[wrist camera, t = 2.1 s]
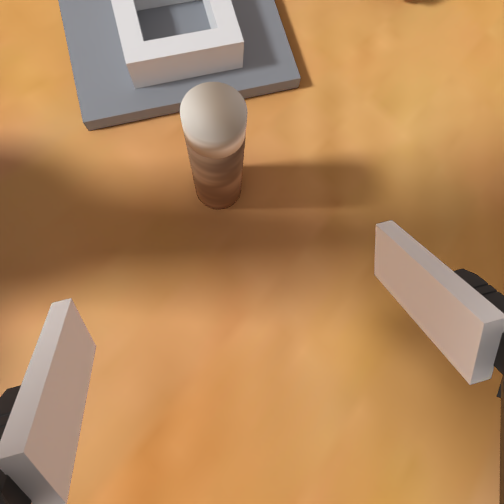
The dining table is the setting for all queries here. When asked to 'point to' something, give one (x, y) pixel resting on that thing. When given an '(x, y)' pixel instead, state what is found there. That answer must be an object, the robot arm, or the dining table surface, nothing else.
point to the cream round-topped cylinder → (215, 141)
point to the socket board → (163, 23)
